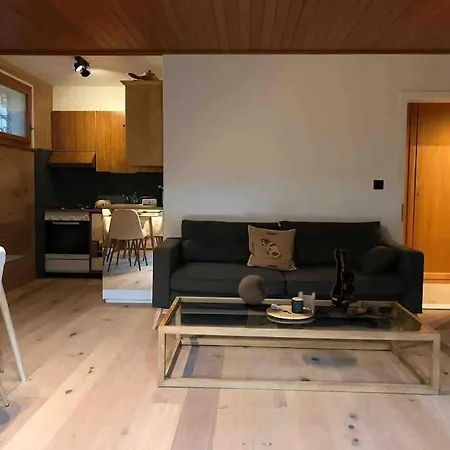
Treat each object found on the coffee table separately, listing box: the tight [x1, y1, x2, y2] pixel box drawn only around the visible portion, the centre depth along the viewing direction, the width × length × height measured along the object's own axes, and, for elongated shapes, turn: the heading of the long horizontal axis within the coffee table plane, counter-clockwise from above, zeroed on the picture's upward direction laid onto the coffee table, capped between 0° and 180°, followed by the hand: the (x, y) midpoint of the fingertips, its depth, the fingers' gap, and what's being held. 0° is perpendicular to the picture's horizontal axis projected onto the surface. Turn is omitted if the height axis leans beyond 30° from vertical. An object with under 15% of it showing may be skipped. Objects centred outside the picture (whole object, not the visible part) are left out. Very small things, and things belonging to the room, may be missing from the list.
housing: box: [357, 300, 382, 317], centre depth 354 cm, size 18×4×6 cm, turn 30°
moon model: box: [238, 274, 269, 306], centre depth 357 cm, size 20×20×20 cm
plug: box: [346, 306, 368, 316], centre depth 349 cm, size 14×4×4 cm, turn 120°
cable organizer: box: [297, 291, 316, 312], centre depth 347 cm, size 15×11×12 cm
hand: (344, 312), depth 343 cm, fingers closed
